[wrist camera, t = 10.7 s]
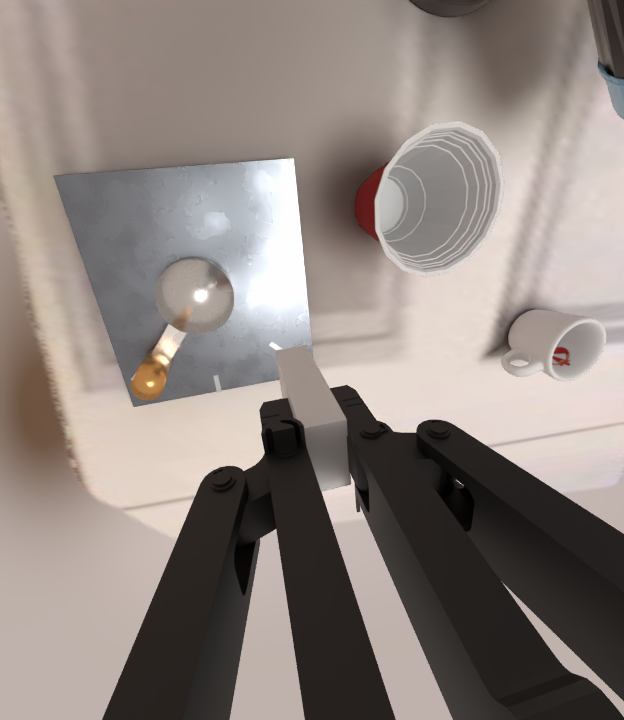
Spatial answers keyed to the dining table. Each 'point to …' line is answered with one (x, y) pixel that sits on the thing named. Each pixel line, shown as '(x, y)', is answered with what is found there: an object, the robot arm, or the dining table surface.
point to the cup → (554, 344)
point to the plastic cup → (434, 198)
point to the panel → (203, 240)
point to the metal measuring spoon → (183, 316)
